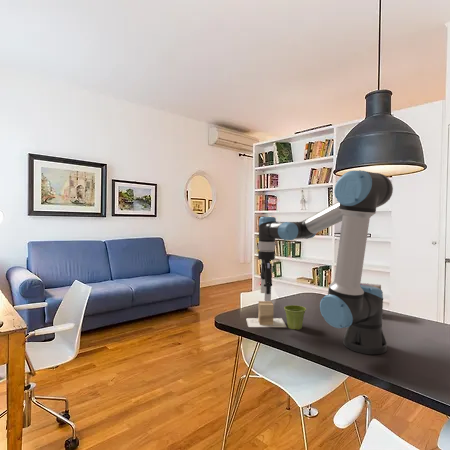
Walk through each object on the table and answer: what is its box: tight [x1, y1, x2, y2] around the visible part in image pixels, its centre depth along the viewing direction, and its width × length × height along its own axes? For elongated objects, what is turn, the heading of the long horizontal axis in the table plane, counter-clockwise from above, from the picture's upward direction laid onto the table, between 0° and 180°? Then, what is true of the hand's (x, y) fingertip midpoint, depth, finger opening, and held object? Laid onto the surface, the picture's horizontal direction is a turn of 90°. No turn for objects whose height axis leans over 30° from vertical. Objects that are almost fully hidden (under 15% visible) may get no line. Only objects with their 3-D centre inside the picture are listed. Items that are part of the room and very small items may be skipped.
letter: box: [246, 317, 287, 328], centre depth 149 cm, size 12×17×1 cm
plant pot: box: [283, 304, 307, 330], centre depth 143 cm, size 9×9×9 cm
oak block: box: [257, 300, 274, 325], centre depth 149 cm, size 6×6×9 cm
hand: (265, 296), depth 149 cm, fingers open, 13 cm apart
